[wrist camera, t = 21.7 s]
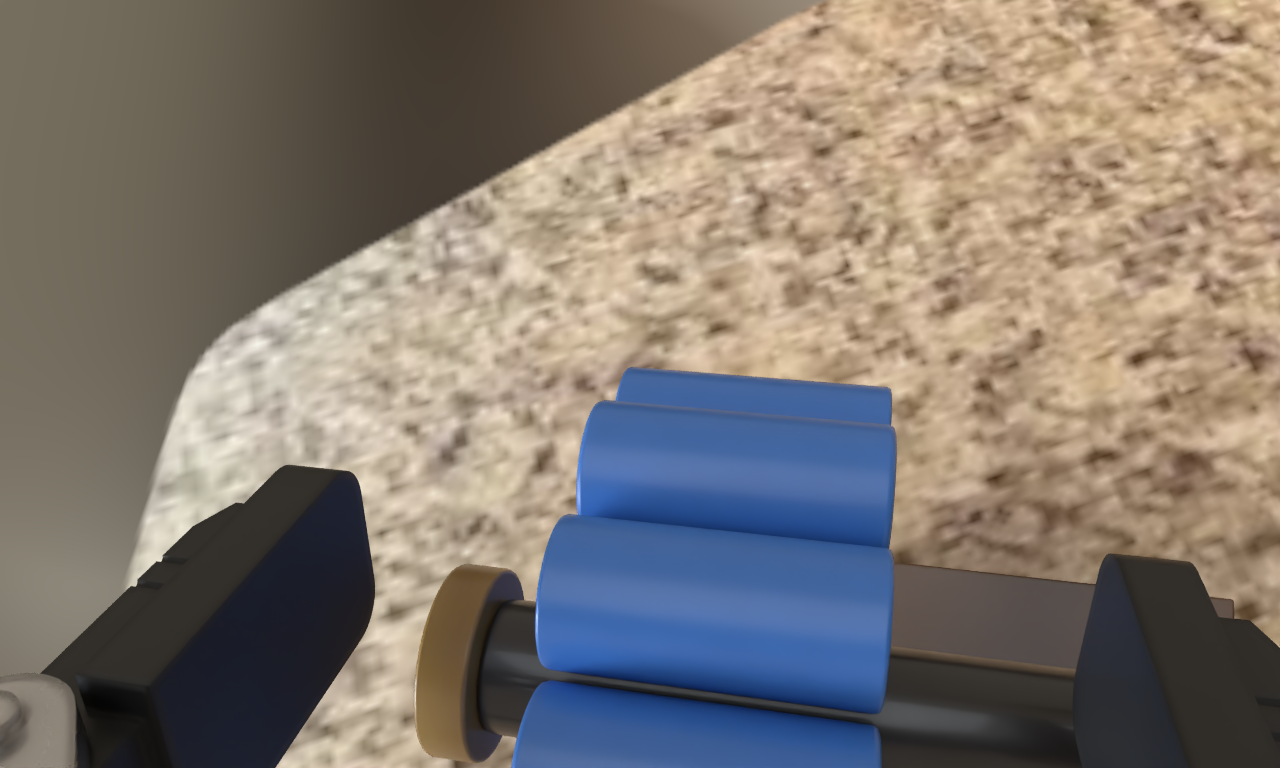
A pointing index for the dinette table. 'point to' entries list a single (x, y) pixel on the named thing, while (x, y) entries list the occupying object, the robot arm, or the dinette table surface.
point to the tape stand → (908, 723)
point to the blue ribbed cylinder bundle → (720, 576)
